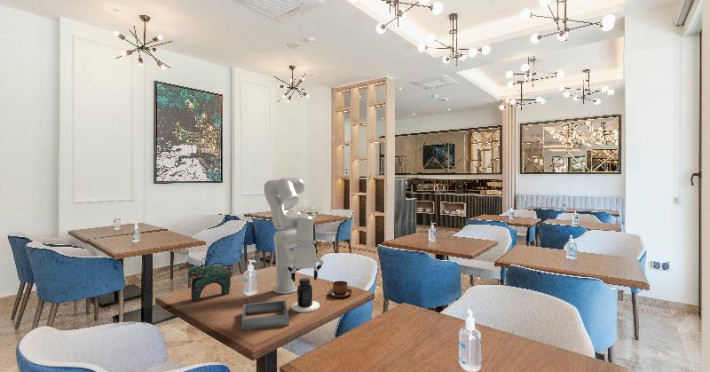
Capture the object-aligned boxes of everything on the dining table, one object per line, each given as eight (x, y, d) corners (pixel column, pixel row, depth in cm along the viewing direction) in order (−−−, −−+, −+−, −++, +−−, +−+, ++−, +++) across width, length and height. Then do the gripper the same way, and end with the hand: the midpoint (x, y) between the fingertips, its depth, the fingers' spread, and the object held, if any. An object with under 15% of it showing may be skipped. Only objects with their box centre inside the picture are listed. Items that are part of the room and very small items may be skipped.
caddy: (243, 313, 157) (243, 304, 157) (285, 309, 162) (285, 300, 162) (241, 330, 140) (241, 320, 140) (288, 325, 145) (288, 315, 145)
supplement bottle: (315, 303, 166) (314, 277, 166) (308, 308, 160) (308, 281, 160) (301, 301, 169) (301, 276, 168) (294, 306, 162) (294, 280, 162)
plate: (289, 303, 169) (289, 301, 169) (317, 300, 172) (317, 299, 172) (292, 313, 156) (292, 312, 156) (322, 310, 160) (322, 308, 160)
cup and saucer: (356, 293, 183) (356, 281, 183) (343, 300, 173) (343, 288, 173) (337, 289, 189) (337, 278, 189) (323, 296, 179) (323, 284, 179)
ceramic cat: (190, 303, 170) (189, 261, 170) (186, 299, 175) (185, 258, 175) (232, 294, 183) (231, 255, 182) (227, 291, 188) (226, 253, 187)
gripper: (322, 240, 169) (321, 276, 171) (284, 242, 165) (284, 278, 166) (325, 244, 162) (324, 281, 163) (286, 246, 158) (285, 284, 159)
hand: (304, 280), depth 165 cm, fingers open, 9 cm apart
